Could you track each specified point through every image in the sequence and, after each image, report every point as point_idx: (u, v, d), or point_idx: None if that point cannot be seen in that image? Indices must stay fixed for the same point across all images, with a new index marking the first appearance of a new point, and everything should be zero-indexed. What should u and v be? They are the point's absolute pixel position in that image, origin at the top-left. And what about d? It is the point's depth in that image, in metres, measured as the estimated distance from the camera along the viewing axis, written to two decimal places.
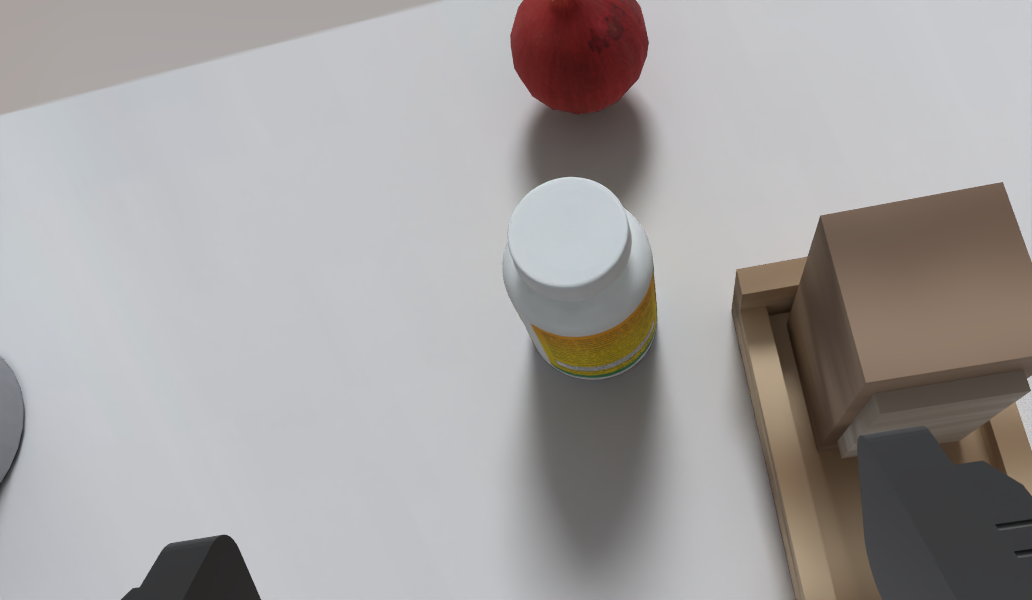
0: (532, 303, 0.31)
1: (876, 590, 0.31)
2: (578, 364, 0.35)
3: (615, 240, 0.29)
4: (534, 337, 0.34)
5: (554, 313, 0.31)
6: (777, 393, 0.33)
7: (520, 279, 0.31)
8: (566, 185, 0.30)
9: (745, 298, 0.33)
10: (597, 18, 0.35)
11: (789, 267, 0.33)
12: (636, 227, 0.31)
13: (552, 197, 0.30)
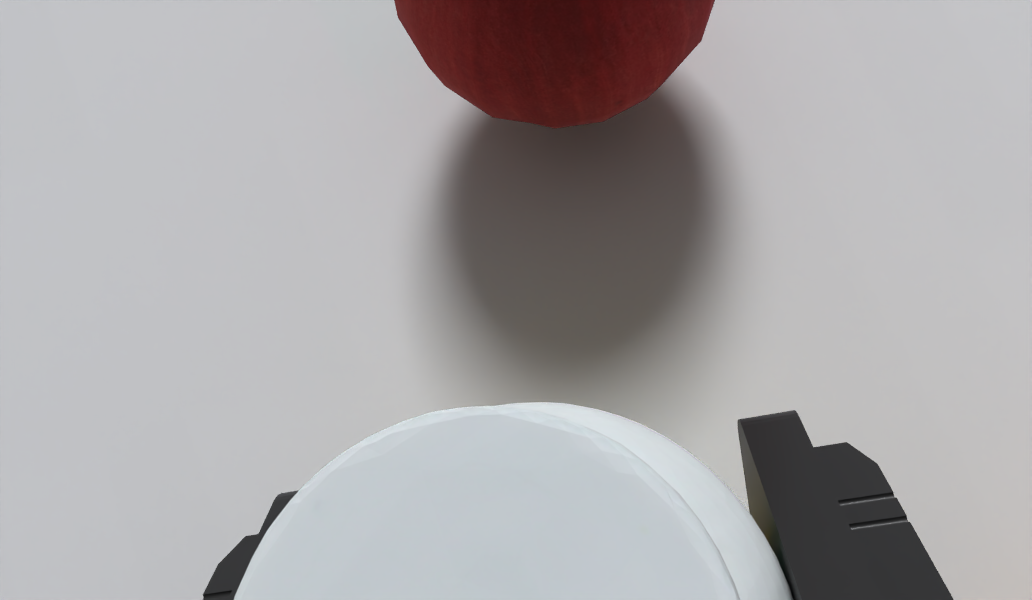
0: None
1: None
2: None
3: None
4: None
5: None
6: None
7: None
8: (475, 447, 0.07)
9: None
10: None
11: None
12: (750, 555, 0.08)
13: (414, 501, 0.07)
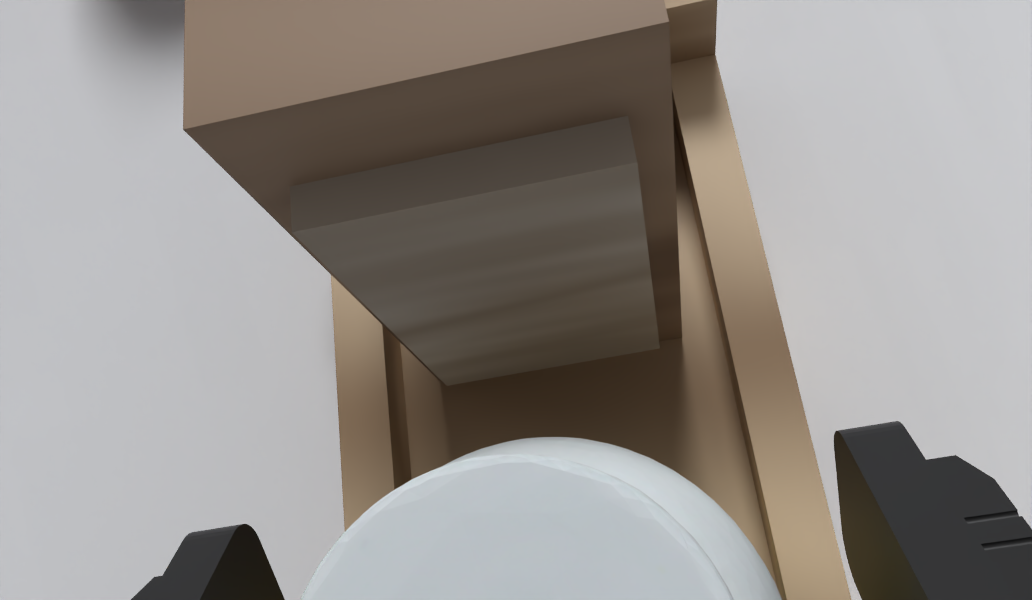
0: None
1: None
2: None
3: None
4: None
5: None
6: None
7: None
8: (507, 492, 0.08)
9: None
10: None
11: None
12: (752, 583, 0.09)
13: (453, 540, 0.08)
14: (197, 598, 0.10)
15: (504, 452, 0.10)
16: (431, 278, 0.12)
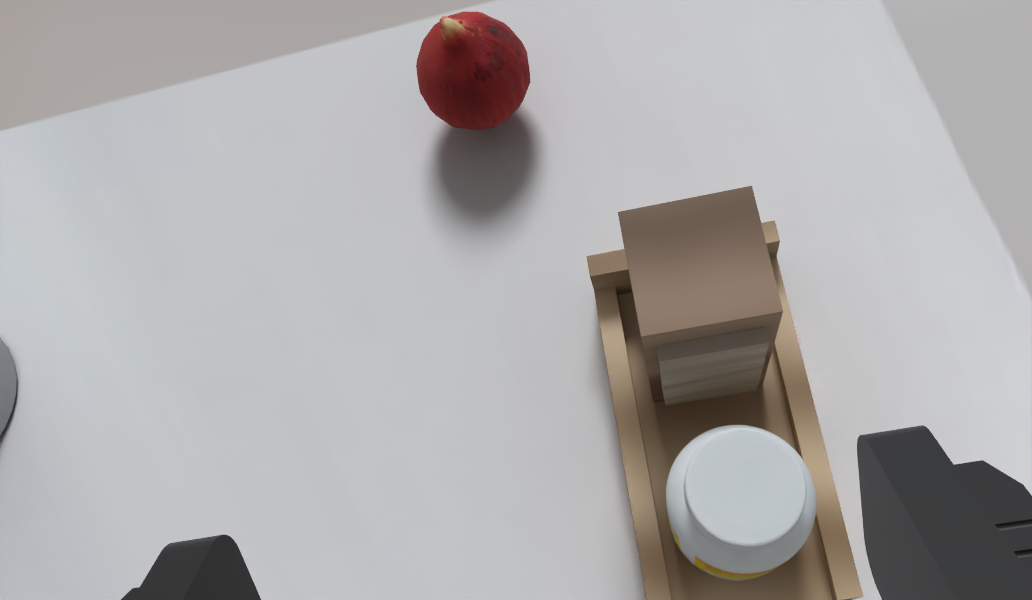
0: (701, 543, 0.32)
1: None
2: (729, 577, 0.35)
3: (794, 498, 0.30)
4: (688, 554, 0.35)
5: (725, 555, 0.31)
6: (619, 355, 0.41)
7: (689, 517, 0.32)
8: (741, 437, 0.31)
9: (593, 279, 0.41)
10: (480, 54, 0.43)
11: None
12: (801, 466, 0.32)
13: (728, 449, 0.31)
14: None
15: (724, 429, 0.33)
16: (689, 371, 0.35)
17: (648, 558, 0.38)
